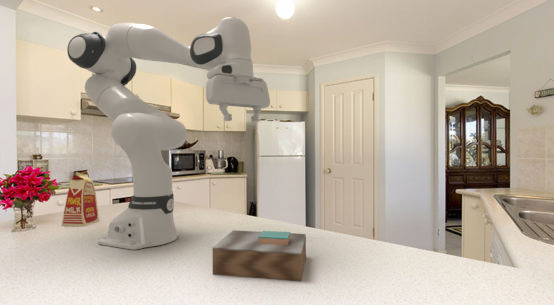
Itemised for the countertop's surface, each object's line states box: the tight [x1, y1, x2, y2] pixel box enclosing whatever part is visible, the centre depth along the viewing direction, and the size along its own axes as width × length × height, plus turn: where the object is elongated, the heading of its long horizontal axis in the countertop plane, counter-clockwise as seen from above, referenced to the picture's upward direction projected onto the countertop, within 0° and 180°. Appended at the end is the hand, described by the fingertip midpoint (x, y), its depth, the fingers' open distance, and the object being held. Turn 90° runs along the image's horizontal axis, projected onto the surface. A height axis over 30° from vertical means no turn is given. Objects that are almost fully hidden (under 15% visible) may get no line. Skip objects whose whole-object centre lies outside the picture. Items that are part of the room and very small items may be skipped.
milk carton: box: [61, 171, 100, 227], centre depth 109 cm, size 9×9×20 cm
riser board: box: [212, 229, 307, 282], centre depth 69 cm, size 20×14×6 cm
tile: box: [258, 230, 291, 245], centre depth 68 cm, size 7×5×2 cm
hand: (242, 121), depth 81 cm, fingers open, 8 cm apart
